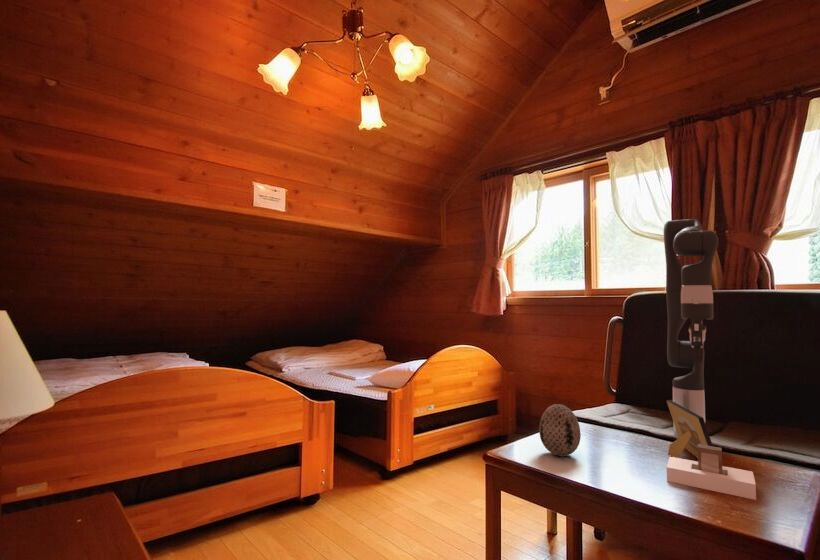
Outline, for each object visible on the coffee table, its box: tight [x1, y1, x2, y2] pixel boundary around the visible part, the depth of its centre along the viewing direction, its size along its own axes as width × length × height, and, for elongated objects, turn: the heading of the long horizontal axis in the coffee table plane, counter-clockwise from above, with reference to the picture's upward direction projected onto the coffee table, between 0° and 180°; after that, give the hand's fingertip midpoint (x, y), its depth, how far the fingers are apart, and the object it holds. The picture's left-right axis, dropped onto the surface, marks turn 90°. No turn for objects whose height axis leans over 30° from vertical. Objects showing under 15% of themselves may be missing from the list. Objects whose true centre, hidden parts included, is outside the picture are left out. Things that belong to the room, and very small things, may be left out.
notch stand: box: [666, 456, 757, 501], centre depth 110 cm, size 10×18×4 cm, turn 55°
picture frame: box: [666, 399, 714, 458], centre depth 130 cm, size 23×9×15 cm, turn 168°
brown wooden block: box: [697, 444, 723, 474], centre depth 111 cm, size 3×5×8 cm, turn 55°
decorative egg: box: [538, 403, 582, 457], centre depth 130 cm, size 12×12×15 cm
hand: (698, 360), depth 120 cm, fingers open, 8 cm apart
